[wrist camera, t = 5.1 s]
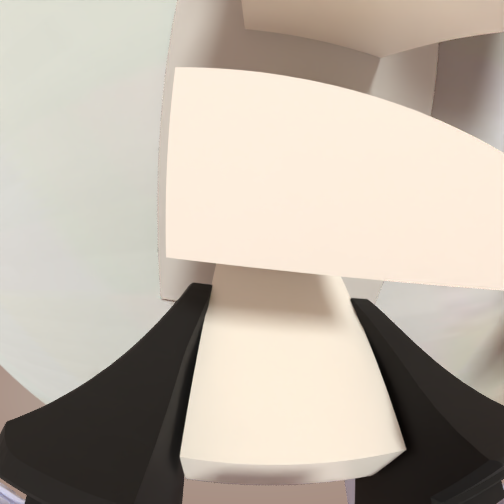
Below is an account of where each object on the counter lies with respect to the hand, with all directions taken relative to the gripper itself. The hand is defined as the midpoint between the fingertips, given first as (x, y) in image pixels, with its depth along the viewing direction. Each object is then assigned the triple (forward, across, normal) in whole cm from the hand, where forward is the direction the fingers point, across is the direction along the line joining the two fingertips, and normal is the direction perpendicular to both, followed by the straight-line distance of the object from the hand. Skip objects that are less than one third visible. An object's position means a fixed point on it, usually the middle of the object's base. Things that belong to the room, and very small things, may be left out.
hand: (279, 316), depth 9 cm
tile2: (+2, 0, -6) cm, 6 cm away
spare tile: (+2, 0, 0) cm, 2 cm away
